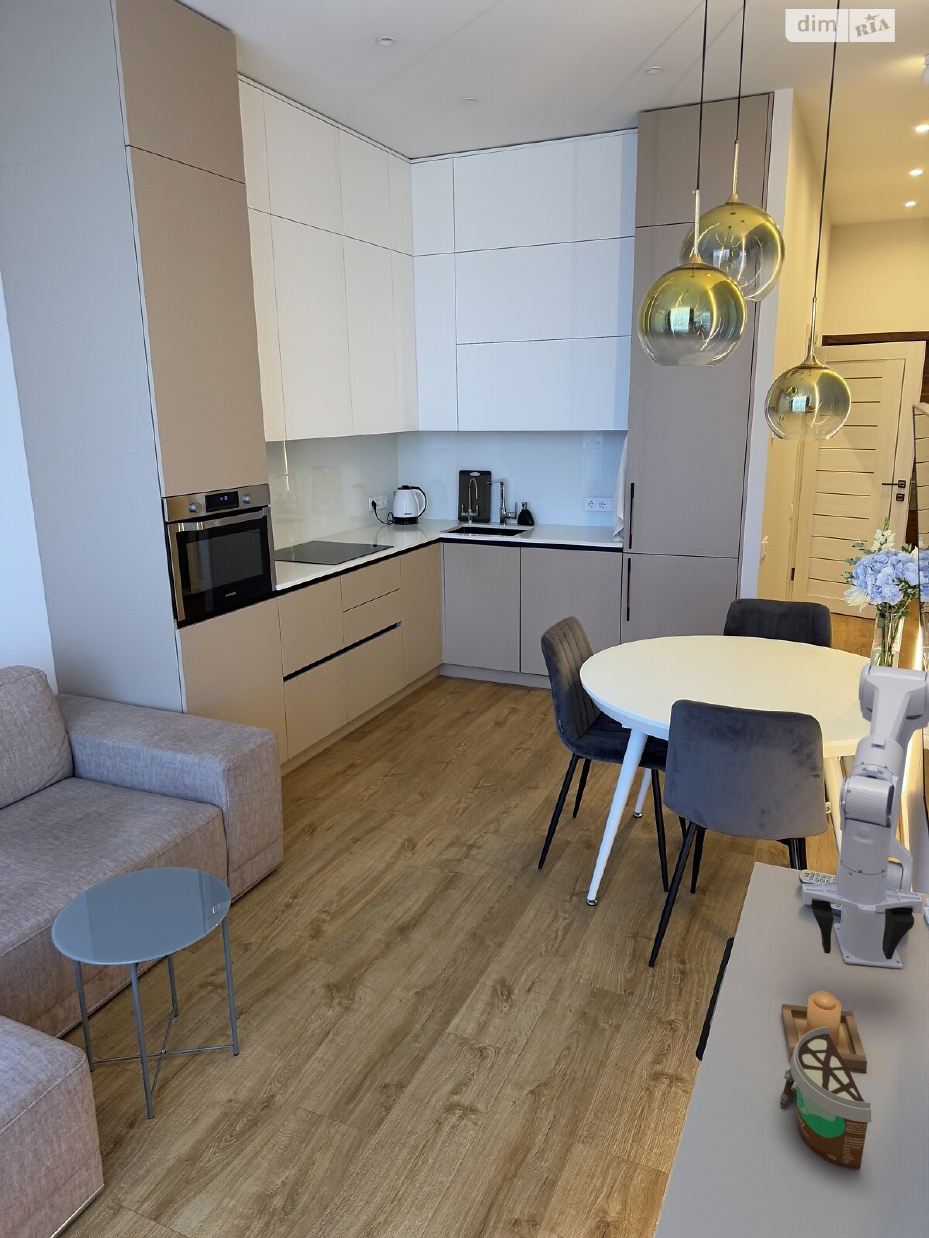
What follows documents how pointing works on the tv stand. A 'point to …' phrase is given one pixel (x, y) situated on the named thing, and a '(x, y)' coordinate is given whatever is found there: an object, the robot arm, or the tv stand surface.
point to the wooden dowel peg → (824, 1013)
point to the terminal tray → (848, 1035)
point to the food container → (828, 1101)
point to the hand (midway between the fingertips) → (856, 951)
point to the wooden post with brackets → (788, 1089)
